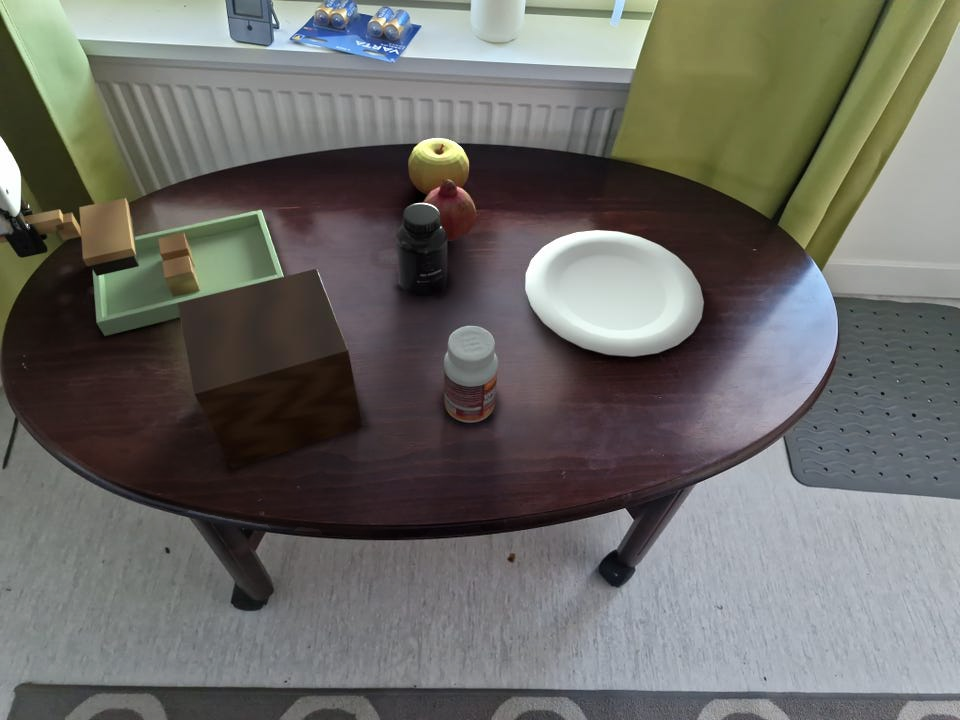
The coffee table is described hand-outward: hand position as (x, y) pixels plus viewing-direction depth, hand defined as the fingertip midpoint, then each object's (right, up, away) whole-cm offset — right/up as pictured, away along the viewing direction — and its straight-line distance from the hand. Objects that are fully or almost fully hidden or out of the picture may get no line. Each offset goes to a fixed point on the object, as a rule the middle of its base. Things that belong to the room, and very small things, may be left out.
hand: (33, 246), depth 79 cm
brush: (+3, -1, +3) cm, 4 cm away
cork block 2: (+14, -4, +10) cm, 18 cm away
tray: (+14, -2, +12) cm, 18 cm away
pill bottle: (+54, -19, 0) cm, 57 cm away
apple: (+48, +14, +27) cm, 57 cm away
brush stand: (+32, -19, -2) cm, 37 cm away
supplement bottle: (+47, -3, +13) cm, 49 cm away
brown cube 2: (+12, 0, +13) cm, 17 cm away
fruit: (+50, +5, +19) cm, 54 cm away
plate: (+74, -5, +12) cm, 75 cm away
